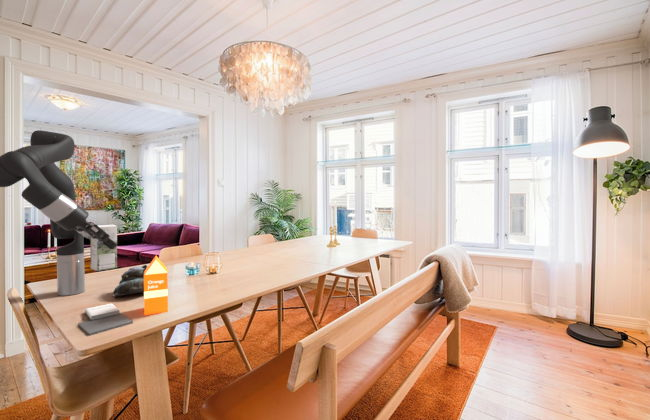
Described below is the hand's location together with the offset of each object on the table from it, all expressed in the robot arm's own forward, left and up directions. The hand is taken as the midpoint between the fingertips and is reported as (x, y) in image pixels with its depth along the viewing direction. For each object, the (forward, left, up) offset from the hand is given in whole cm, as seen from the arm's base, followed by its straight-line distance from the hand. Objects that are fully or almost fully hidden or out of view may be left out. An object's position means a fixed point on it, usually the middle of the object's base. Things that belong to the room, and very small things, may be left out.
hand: (109, 246), depth 102 cm
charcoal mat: (0, -2, -26) cm, 26 cm away
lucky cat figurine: (-27, +16, -26) cm, 41 cm away
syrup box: (0, -2, -7) cm, 8 cm away
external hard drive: (-10, 0, -26) cm, 28 cm away
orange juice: (-1, +15, -26) cm, 30 cm away
